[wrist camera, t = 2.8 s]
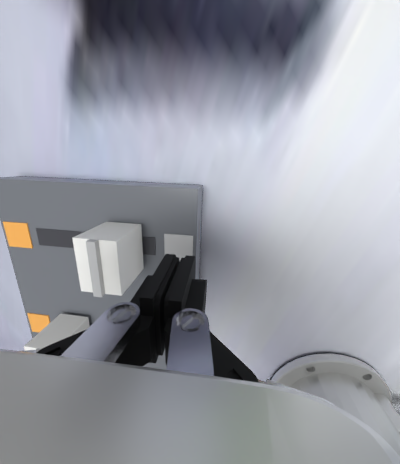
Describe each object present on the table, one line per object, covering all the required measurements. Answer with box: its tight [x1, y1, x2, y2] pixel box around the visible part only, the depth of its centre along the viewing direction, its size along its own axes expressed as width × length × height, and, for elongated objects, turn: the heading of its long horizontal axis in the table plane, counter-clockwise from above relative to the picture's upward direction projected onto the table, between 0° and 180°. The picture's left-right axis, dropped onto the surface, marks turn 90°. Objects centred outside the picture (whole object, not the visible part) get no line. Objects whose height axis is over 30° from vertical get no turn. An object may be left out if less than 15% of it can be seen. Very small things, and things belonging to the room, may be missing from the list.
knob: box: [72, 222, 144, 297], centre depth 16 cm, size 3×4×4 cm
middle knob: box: [24, 314, 90, 352], centre depth 19 cm, size 3×4×4 cm
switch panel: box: [0, 176, 203, 370], centre depth 23 cm, size 18×30×3 cm, turn 178°
